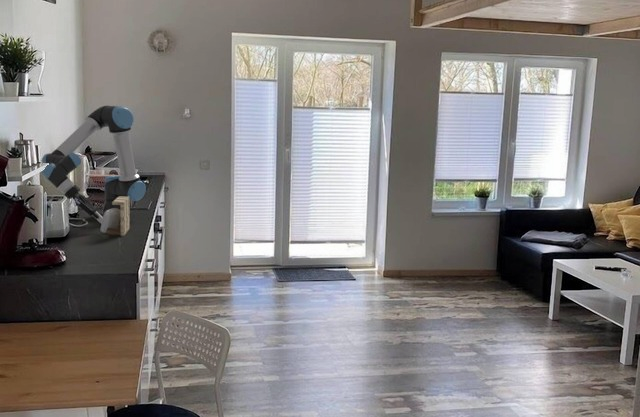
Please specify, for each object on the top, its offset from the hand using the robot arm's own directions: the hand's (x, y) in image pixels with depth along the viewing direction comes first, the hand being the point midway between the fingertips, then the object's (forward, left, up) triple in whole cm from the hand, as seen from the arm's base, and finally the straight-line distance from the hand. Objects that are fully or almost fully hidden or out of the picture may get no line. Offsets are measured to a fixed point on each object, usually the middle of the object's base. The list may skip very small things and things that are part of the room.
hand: (103, 222), depth 321 cm
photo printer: (0, +2, -5) cm, 5 cm away
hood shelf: (0, +7, -5) cm, 9 cm away
